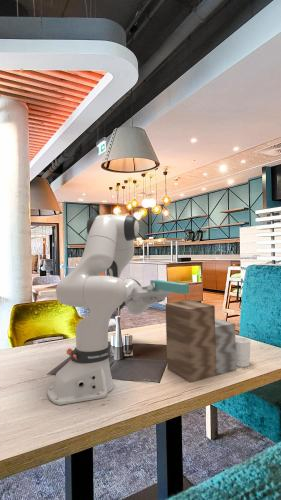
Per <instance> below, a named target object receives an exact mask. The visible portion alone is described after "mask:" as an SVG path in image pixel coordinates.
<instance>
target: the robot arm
mask: <svg viewBox="0 0 281 500" xmlns="http://www.w3.org/2000/svg"><path fill="white" fill-rule="evenodd" d="M86 232H87V239H86V242H85V246H84V249H83V253H82V256H81V258H80V260H79V262H78V263H77V265H76V266H75V267H74V268H73V269H72V271H71V272H69V273H68V274H67V275H65V276H64V277H62V278H60V280H59V281H58V283H57V285H56V288H55V296H56V298H57V301H58V302H59V303H60V304H61V305H65V306H68V307H73V308H74V307H75V308H89V312H88V316H86V317H84V318H82V319H81V320H80V321H79V322H77V324H76V327H75V346H76V347H75V348H74V349H72V348H68V349H67V350H66V354H67V355H68V356H70V360H69V361H68V362H67V363H66V364H65V365H64V366H62V367H61V368H60V369H59V370H57V372H56V374H55V376H54V382H53V385H51V386H49V387H48V388H47V390H46V391H47V393H46V394H47V395H46V396H47V397H48V399H49V401H51V402H52V403H53V404H55V405H57V406H58V405H60V406H61V405H68V404H74V403H80V402H81V403H82V402H85V401H86V402H87V401H92V400H99V399H104V398H106V397H107V396H108V393H109V392H112V390H113V389H114V388H115V384H114V380H113V378H112V372H111V365H110V361H111V351H110V345H109V325H110V320H111V317H112V315H113V313H114V312H115V311H116V310H117V311H118V307H119V306H120V310H122V309H123V308H124V307H125V306H126V305H127V310H128V312H129V313H130V314H131V315H134V316H135V315H141V314H142V313H144V312H145V311H146V310H148V309H149V307H151V306H152V305H154V304H157V303H161V302H164V301H165V300H166V298H168V297H169V296H170V295H171V294H173V292H169V291H164V290H159V289H153V288H156V287H157V285H156V283H152V284H151V283H150V284H149V285H141V283H140V282H139V280H136V279H134V278H132V277H128V278H126V279H124V280H123V279H122V278H120V277H121V274H122V271H124V269H125V267H126V266H127V265H128V264H129V263H130V261H132V259H133V258H134V255H135V242H134V240H135V239H136V238H137V237H138V235H139V232H140V223H139V221H138V219H137V218H136V217H135V216H133V215H130V214H129V215H128V214H126V215H125V214H113V213H112V214H110V213H109V214H101V215H100V214H95V215H92V216H90V217H89V218H88V220H87V222H86ZM105 271H106V275H100V274H101V273H102V272H103V273H104V272H105Z"/></svg>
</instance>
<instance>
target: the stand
mask: <svg viewBox="0 0 281 500" xmlns="http://www.w3.org/2000/svg"><path fill="white" fill-rule="evenodd" d="M215 307H216V306H215V305H214V304H209V303H204V302H198V301H194V300H184V301H183V300H182V301H175V302H167V303H165V330H166V331H165V334H166V335H165V336H166V337H165V338H166V368H167V370H168V371H170V372H171V373H173V374H175V375H177V376H178V377H180V378H182V379H183V380H185V381H187V382H188V383H193V382H197V381H201V380H204V379H208V378H209V379H210V378H213V377H215V376H219V375H222V374H226V373H231V372H233V371H236V370H237V366H236V342H235V337H236V323H235V322H230V321H226V320H222V319H220V318H216V312H215V311H216V310H215Z"/></svg>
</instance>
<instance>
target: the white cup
mask: <svg viewBox="0 0 281 500" xmlns="http://www.w3.org/2000/svg"><path fill="white" fill-rule="evenodd" d="M235 342H236V367H238V368H239V367H240V368H246V367H247V368H248V367H249V366H250V365H251V364H250V363H251V362H250V361H251V359H250V358H251V339H250V338H247V337H242V336H235Z"/></svg>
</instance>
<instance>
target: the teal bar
mask: <svg viewBox="0 0 281 500" xmlns="http://www.w3.org/2000/svg"><path fill="white" fill-rule="evenodd" d="M149 280H150V285H151V284H152V283H156V285H157V287H156V288H153V289H159V290H164V291H169V292H172V293H175V294H181V295H185V294H190V284H188V283H183V282H176V281H175V282H174V281H169V280H160V279H149Z"/></svg>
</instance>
